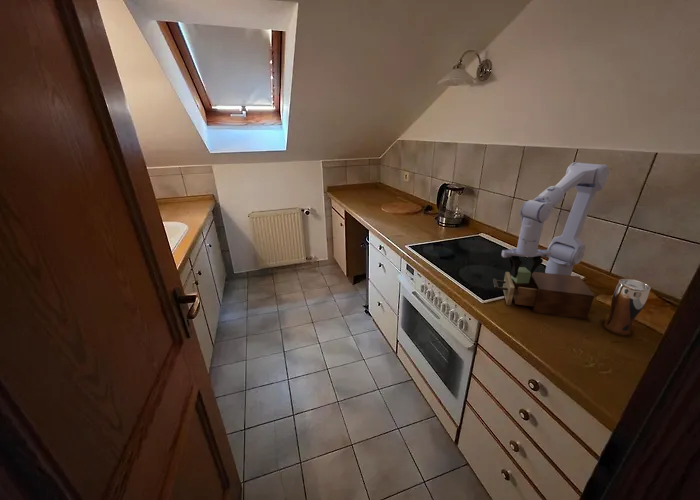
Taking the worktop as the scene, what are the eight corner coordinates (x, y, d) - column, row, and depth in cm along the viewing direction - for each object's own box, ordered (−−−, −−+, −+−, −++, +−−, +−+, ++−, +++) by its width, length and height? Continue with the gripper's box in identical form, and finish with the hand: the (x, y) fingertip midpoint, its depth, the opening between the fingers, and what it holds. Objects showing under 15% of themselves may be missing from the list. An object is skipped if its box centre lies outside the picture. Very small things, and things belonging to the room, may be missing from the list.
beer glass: (618, 320, 91) (635, 277, 85) (639, 335, 85) (659, 290, 79) (596, 321, 91) (611, 278, 85) (615, 336, 85) (633, 291, 79)
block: (510, 277, 102) (513, 267, 101) (522, 277, 102) (525, 267, 101) (516, 283, 99) (518, 272, 97) (528, 283, 98) (531, 272, 97)
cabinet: (533, 311, 97) (539, 289, 93) (525, 292, 108) (530, 271, 104) (586, 319, 92) (594, 295, 89) (572, 298, 103) (579, 276, 100)
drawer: (493, 303, 100) (496, 285, 98) (489, 286, 110) (492, 270, 108) (553, 311, 95) (558, 293, 92) (544, 293, 105) (548, 276, 102)
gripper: (545, 233, 98) (536, 270, 103) (500, 234, 99) (493, 270, 104) (558, 241, 91) (548, 280, 97) (510, 242, 92) (502, 280, 97)
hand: (520, 276), depth 100 cm, fingers closed on block, 4 cm apart
